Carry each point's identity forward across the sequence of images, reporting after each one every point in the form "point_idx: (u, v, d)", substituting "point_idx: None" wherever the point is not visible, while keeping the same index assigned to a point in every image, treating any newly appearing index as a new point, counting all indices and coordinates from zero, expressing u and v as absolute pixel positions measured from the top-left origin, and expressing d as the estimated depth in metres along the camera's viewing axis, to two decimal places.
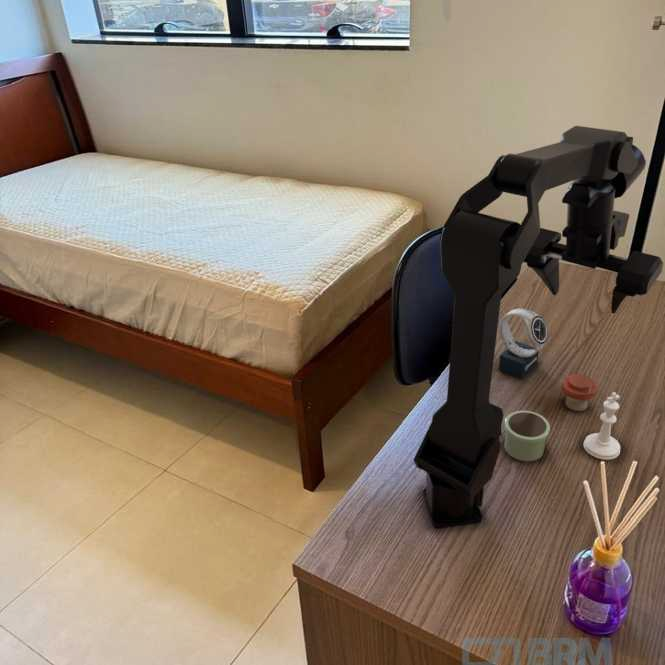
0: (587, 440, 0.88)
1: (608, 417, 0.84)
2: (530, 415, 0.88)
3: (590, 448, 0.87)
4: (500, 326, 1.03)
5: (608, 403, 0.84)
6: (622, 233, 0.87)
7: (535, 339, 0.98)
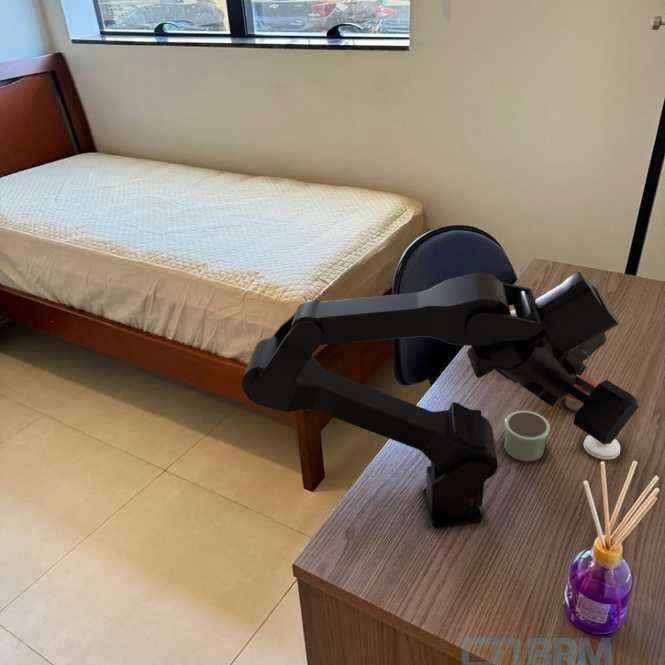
0: (587, 440, 0.88)
1: None
2: (530, 415, 0.88)
3: (590, 448, 0.87)
4: None
5: None
6: (597, 346, 0.70)
7: None
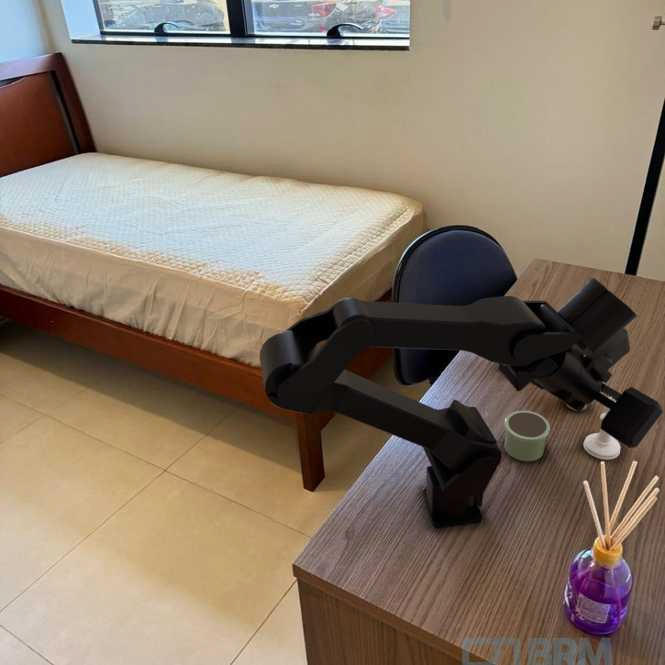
0: (587, 440, 0.88)
1: None
2: (530, 415, 0.88)
3: (590, 448, 0.87)
4: None
5: None
6: (622, 354, 0.74)
7: None
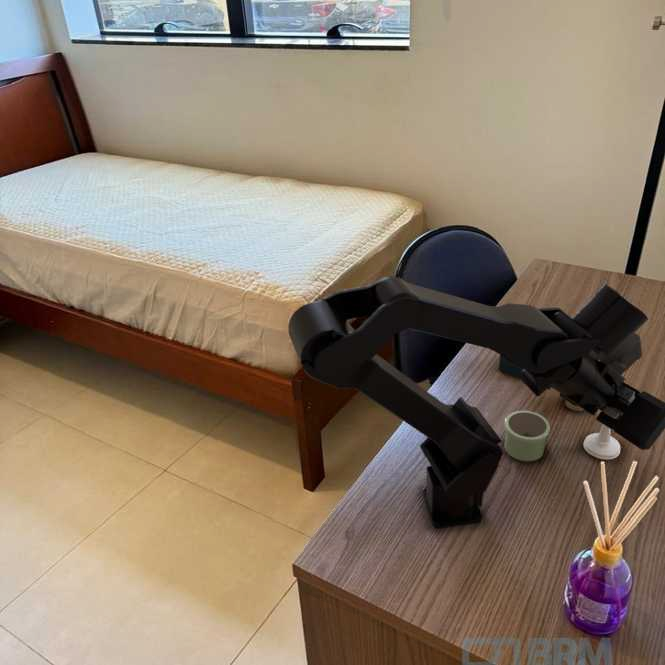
0: (587, 440, 0.88)
1: None
2: (530, 415, 0.88)
3: (590, 448, 0.87)
4: None
5: None
6: (634, 359, 0.76)
7: None
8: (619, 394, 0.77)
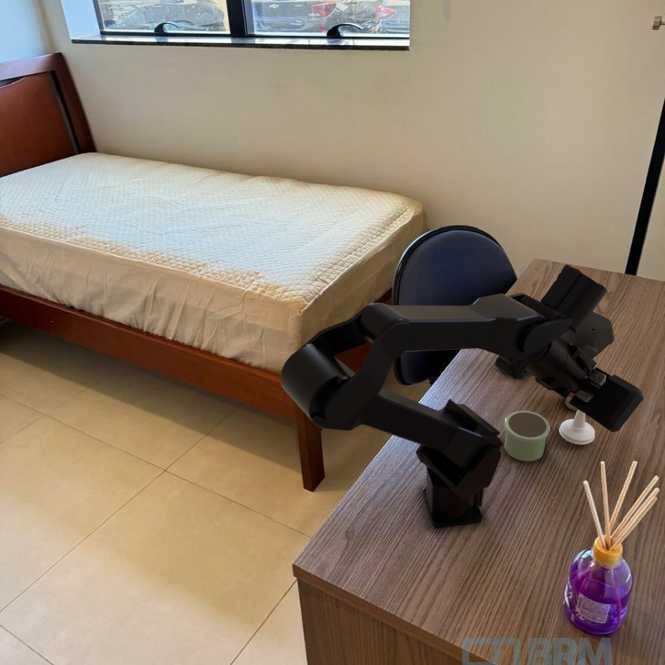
0: (563, 425, 0.90)
1: None
2: (530, 415, 0.88)
3: (565, 433, 0.89)
4: None
5: None
6: (606, 344, 0.78)
7: None
8: (591, 378, 0.79)
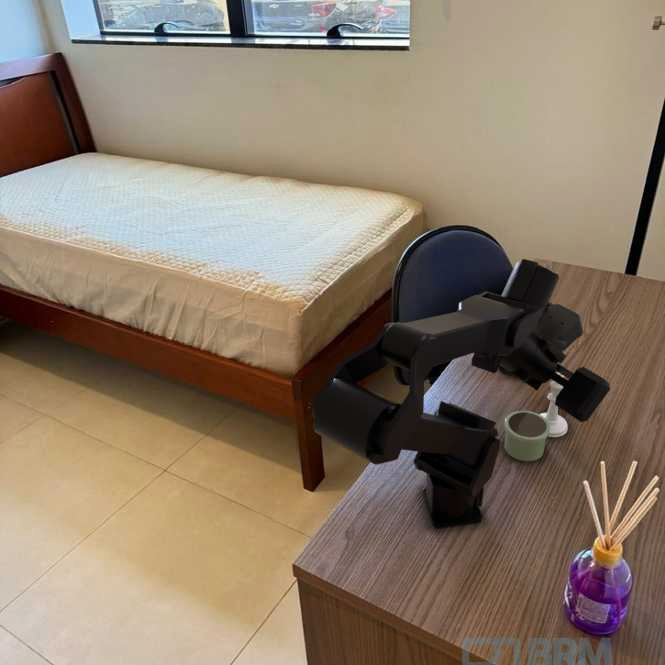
0: None
1: (554, 396, 0.89)
2: (530, 415, 0.88)
3: None
4: None
5: (554, 383, 0.88)
6: (575, 337, 0.81)
7: None
8: None
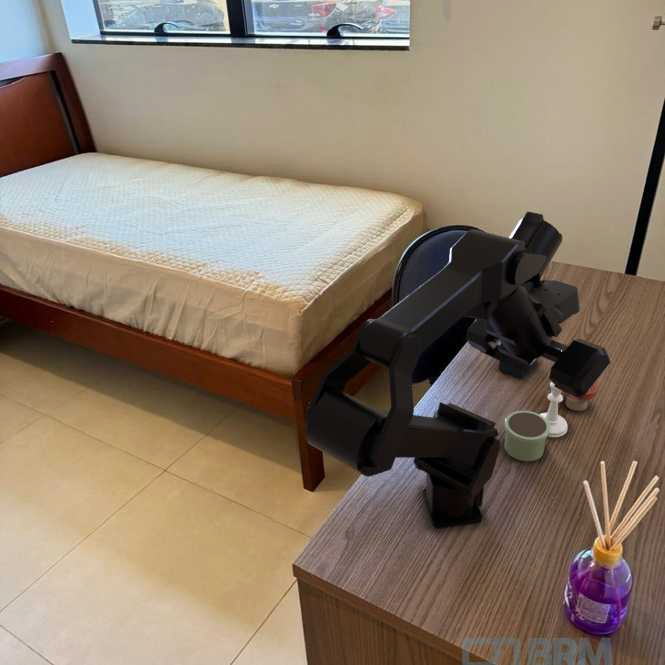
0: None
1: (555, 397, 0.89)
2: (530, 415, 0.88)
3: None
4: None
5: None
6: (571, 312, 0.75)
7: None
8: None
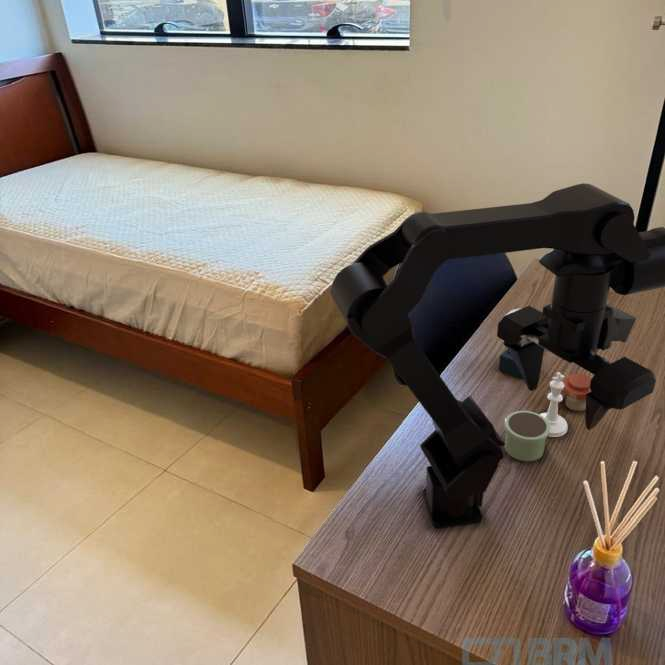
0: None
1: (554, 396, 0.89)
2: (530, 415, 0.88)
3: None
4: None
5: (554, 383, 0.88)
6: (622, 337, 0.72)
7: None
8: None
